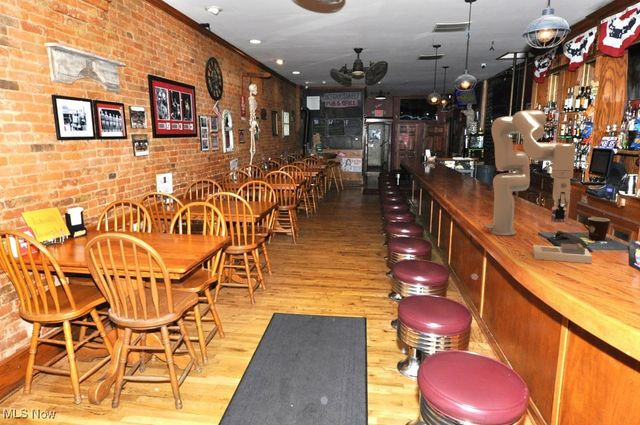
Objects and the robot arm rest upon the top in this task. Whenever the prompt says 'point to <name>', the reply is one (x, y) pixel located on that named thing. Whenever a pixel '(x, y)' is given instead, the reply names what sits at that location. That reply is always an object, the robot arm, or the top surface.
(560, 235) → the black slab with knob
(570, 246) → the grey slab
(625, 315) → the top surface
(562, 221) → the pill bottle
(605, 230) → the coffee mug
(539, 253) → the socket block
